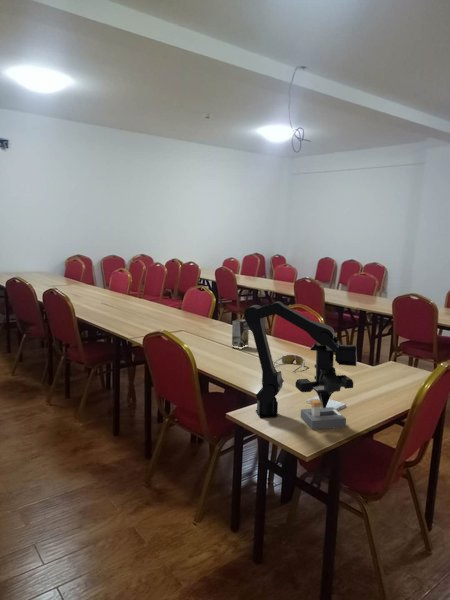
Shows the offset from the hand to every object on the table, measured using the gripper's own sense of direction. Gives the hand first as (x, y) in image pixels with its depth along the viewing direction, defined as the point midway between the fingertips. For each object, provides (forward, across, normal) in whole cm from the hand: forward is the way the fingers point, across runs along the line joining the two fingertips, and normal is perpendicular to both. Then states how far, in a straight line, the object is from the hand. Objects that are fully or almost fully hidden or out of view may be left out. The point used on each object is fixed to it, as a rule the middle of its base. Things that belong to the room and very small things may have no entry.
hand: (324, 407), depth 148 cm
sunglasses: (+6, +11, +66) cm, 67 cm away
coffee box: (+5, -3, +108) cm, 108 cm away
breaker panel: (+5, 0, 0) cm, 5 cm away
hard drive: (+6, +8, +15) cm, 18 cm away
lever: (+4, -3, 0) cm, 5 cm away
